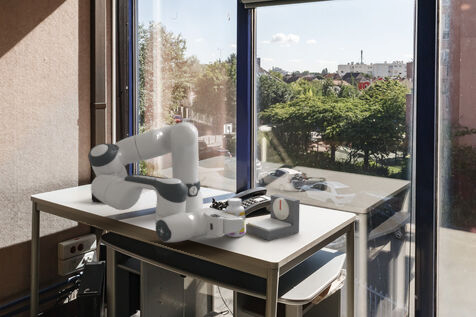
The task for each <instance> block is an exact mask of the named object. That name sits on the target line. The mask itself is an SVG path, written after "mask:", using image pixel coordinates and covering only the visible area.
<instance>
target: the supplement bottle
mask: <svg viewBox="0 0 476 317" xmlns="http://www.w3.org/2000/svg"><path fill="white" fill-rule="evenodd" d="M227 203H228V205H227V206H226V208H225V211H226V213H228V214H231V215H234V216H237V217H239V215H244V216H245V208H244V206H242V198H240V197H235V198H234V197H233V198H231V197H230V198H228V200H227ZM245 233H246V228H245V221H243V229H242V230H240V231H236V232H233V233H229V234H225V235H226V236H227V237H228V238H229V237H230V238H241V237H243V236H244V235H245Z"/></svg>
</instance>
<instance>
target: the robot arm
mask: <svg viewBox="0 0 476 317" xmlns="http://www.w3.org/2000/svg"><path fill="white" fill-rule="evenodd" d="M168 154H171V168H172V169H171V170H172V177H159V176H152V175H147V174H137V173H136V174H128V172H127V169H126V166H127V165H128V164H136V163H140V162H143V161H147V160H151V159H154V158H158V157H162V156H165V155H168ZM87 156H88V157H87V158H88V161H89V164H90V165H91V167H92V170H93V172H94V175H95V178H94V179H93V180H92V182H91V185H90V191H92V192H91V195H92V194H93V195H94V196H95V197H96V198H97V199H99V200H100V201H102V202H103V203H102V204H105V205H107V206H109V207H111V208H113V209H116V210H118V211H119V210H120V211H126V210H129V209H131V208H132V207H133V206H135V205H136V204H138V203H137V202H138V201H139V199H140V198H141V196H142V195H141V192H142V190H143V189H149V190H154V192H155V194H156V204H155V205H156V206H155V218H154V222H155V233H156V236H157V238H158V239H159V240H160V241H161V242H162V243H179V242H184V241H187V240H191V239H192V238H201V237H215V238H222V237H223V236H224V235H226V234H229V233H233V232H236V231H240V230H242V229H243V221H244V222H245V221H246V215H245V214H244V215H239V217H237V216H234V215H231V214H228V213H226V210H219V209H216V208H214V207H204V201H203V200H204V199H203V192H201V181H200V164H199V162H200V161H199V159H200V157H199V156H200V155H199V131H198V128H197V127H196V126H195V125H194V124H193V123H192V122H189V121H182V122H179V123H178V122H177V123H175V124H171V125H168V126H163V127H161V128H157V129H154V130H153V129H152V130H149V131H146V132H142V133H138V134H135V135H134V134H133V135H132V136H131V135H130V136H128V137H126V138H125V137H124V138H123V139H121V140H119V141H117V142H115V143H99V144H96V145H95V146H93V147H92V148H91V149H90V150H89V152H88V154H87Z"/></svg>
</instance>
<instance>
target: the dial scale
mask: <svg viewBox="0 0 476 317" xmlns="http://www.w3.org/2000/svg"><path fill="white" fill-rule="evenodd" d="M300 204H301V203H300V199H299V198H293V197H289V196H285V195H281V194H271V195H270V208H269V209H270V215H269V217H267V218H262V219H258V220H253V221H250V222H249V221H248V222H247V223H246V224H245V233H247V234H250V235H252V236H256V237H258V238H260V239H264V240H266V241H272V240H276V239H279V238H283V237H287V236H291V235H293V234H297V233H299V232H300Z"/></svg>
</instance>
